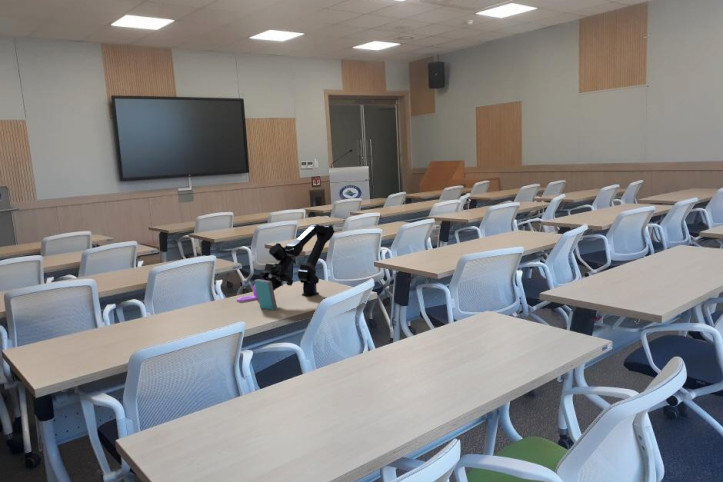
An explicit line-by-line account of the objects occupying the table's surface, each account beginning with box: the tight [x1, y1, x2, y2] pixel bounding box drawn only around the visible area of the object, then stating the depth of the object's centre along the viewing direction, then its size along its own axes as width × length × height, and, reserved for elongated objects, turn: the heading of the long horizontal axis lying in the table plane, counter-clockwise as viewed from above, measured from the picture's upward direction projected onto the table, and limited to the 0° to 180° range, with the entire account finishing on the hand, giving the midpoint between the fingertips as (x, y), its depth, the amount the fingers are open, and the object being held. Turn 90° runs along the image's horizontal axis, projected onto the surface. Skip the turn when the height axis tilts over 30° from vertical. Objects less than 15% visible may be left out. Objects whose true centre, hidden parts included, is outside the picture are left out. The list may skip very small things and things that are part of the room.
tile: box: [253, 278, 278, 311], centre depth 268 cm, size 2×10×14 cm, turn 50°
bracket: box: [236, 284, 259, 303], centre depth 288 cm, size 13×6×7 cm, turn 114°
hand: (267, 293), depth 269 cm, fingers closed
